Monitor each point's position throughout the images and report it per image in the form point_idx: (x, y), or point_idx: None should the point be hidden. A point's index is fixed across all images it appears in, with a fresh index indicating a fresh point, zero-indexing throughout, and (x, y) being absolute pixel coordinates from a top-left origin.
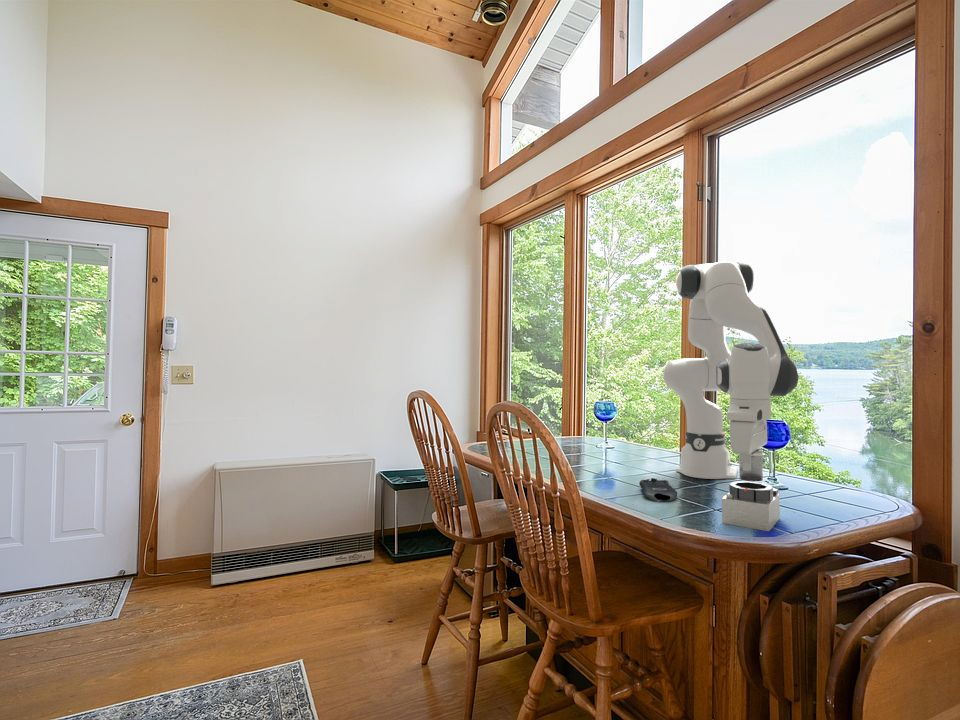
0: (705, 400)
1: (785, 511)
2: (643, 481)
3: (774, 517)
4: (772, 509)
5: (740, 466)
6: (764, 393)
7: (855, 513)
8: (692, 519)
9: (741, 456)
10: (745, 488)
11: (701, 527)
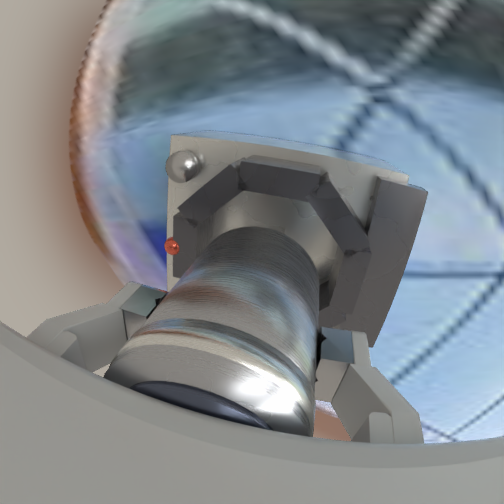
0: None
1: (435, 304)
2: None
3: None
4: None
5: (193, 270)
6: None
7: (438, 412)
8: (206, 42)
9: (49, 323)
10: (168, 246)
11: (139, 89)
